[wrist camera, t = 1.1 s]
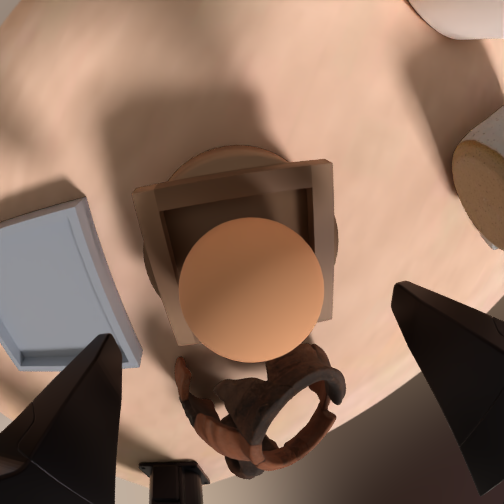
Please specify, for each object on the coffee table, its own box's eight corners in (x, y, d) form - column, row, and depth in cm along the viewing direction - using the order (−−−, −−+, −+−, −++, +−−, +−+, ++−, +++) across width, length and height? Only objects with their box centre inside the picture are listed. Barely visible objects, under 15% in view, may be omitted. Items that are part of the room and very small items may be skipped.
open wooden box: (317, 282, 17) (341, 324, 14) (175, 306, 17) (170, 355, 13) (311, 135, 13) (344, 148, 10) (138, 162, 13) (114, 183, 10)
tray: (142, 349, 18) (139, 367, 17) (26, 357, 17) (19, 371, 16) (86, 196, 13) (74, 206, 12) (-36, 235, 13) (-49, 246, 11)
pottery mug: (158, 316, 18) (234, 392, 11) (280, 293, 23) (372, 333, 17) (172, 451, 20) (230, 525, 14) (268, 415, 26) (333, 465, 19)
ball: (303, 294, 14) (340, 374, 9) (196, 312, 13) (196, 401, 9) (298, 190, 11) (351, 245, 7) (171, 210, 11) (150, 279, 7)
